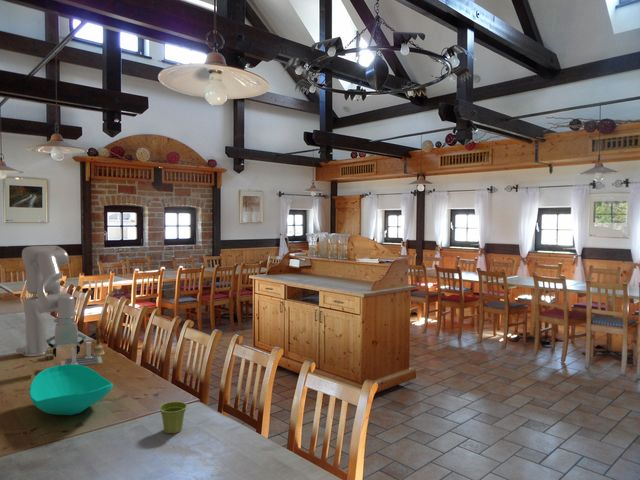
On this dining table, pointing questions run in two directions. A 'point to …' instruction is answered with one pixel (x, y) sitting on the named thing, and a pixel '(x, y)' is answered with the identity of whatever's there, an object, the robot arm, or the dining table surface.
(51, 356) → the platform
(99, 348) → the hand bell
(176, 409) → the plant pot
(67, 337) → the robot arm
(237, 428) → the dining table surface
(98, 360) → the panel
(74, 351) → the handle
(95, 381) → the table top decor
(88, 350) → the handle
